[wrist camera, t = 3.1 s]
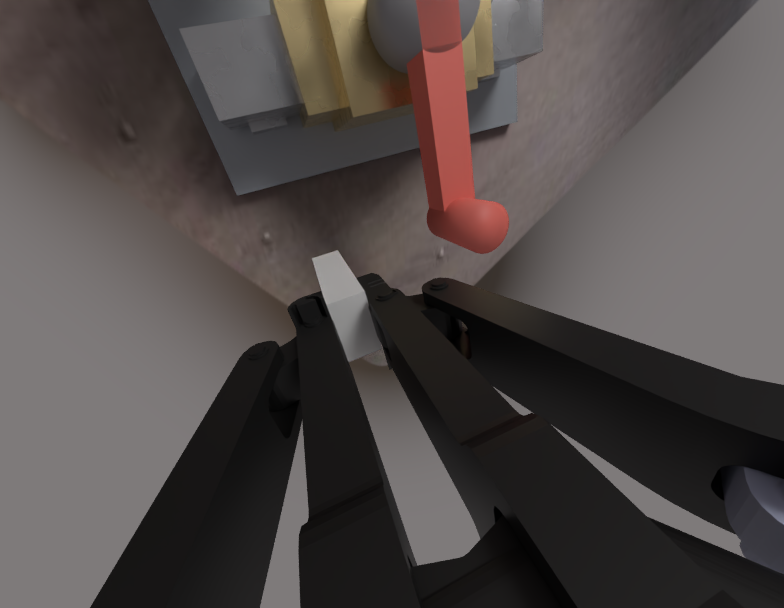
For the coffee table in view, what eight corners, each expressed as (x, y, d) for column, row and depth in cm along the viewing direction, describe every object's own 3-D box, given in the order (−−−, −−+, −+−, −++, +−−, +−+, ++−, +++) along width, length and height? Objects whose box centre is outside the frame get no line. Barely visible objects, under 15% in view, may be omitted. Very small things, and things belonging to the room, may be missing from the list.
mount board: (505, -62, 22) (514, -72, 21) (510, 123, 27) (517, 121, 26) (143, -16, 17) (135, -26, 16) (239, 194, 23) (237, 195, 22)
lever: (356, -34, 14) (396, -152, 9) (440, -45, 14) (521, -159, 9) (411, 242, 20) (451, 265, 15) (467, 223, 21) (523, 240, 16)
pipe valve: (498, -21, 22) (580, -95, 16) (502, 92, 25) (571, 66, 19) (188, 28, 18) (137, -48, 12) (242, 154, 21) (223, 147, 15)
